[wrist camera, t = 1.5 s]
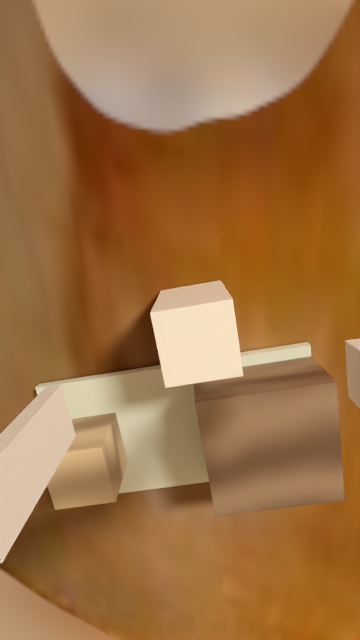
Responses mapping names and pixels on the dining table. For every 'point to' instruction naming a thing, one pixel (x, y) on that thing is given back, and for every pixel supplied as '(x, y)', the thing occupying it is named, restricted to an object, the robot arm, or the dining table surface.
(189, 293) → the white block
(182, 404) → the build board
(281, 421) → the plinth
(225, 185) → the dining table surface
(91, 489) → the oak cube
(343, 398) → the dining table surface
